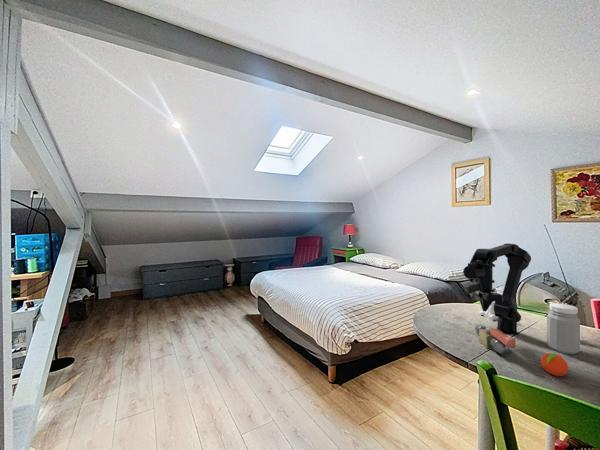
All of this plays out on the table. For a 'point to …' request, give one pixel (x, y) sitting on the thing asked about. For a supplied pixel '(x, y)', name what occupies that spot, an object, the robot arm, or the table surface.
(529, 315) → the table surface
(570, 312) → the jar
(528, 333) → the table surface
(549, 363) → the clementine
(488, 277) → the robot arm
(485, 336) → the pipe valve
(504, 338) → the lever
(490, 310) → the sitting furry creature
